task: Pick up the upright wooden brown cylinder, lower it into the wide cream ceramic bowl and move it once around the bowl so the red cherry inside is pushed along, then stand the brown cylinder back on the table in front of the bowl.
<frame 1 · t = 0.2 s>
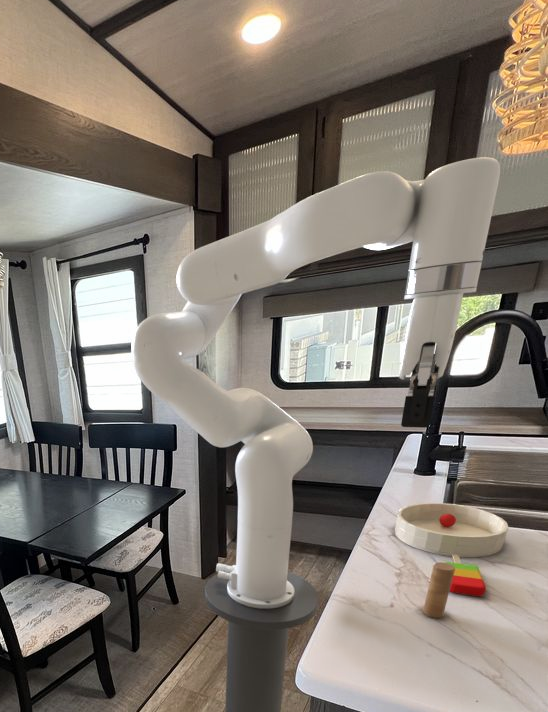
hand: (416, 419, 66), 33 cm above the counter, tool pointing down, fingers open, 9 cm apart
brown cylinder: (432, 613, 78), on the counter
popsicle: (459, 576, 88), on the counter
bowl: (445, 537, 103), on the counter
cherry: (447, 520, 105), point 2 cm above the counter, touching bowl
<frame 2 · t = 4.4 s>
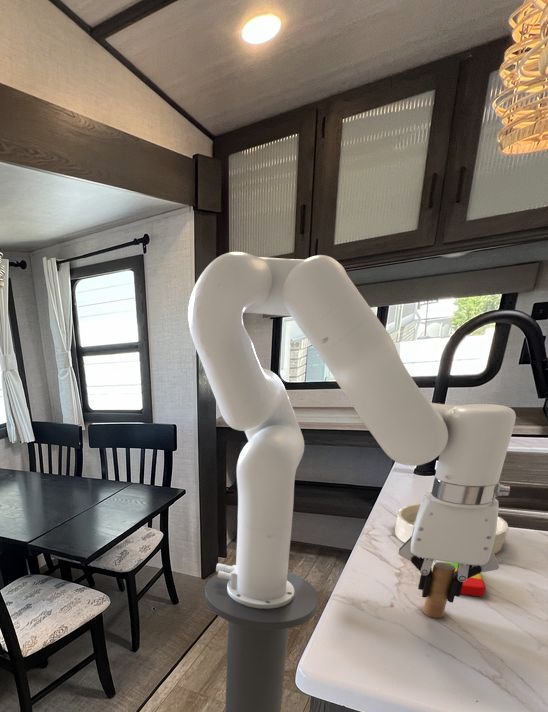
hand: (437, 595, 77), 4 cm above the counter, tool pointing down, fingers closed on brown cylinder, 2 cm apart
brown cylinder: (432, 613, 78), on the counter, touching gripper
everything else where it was.
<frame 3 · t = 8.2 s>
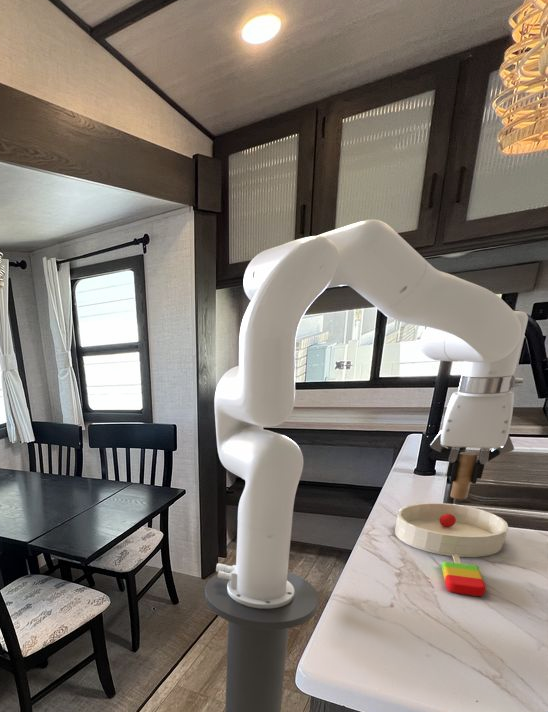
hand: (462, 480, 93), 15 cm above the counter, tool pointing down, fingers closed on brown cylinder, 2 cm apart
brown cylinder: (458, 496, 95), point 11 cm above the counter, touching gripper
everything else where it was.
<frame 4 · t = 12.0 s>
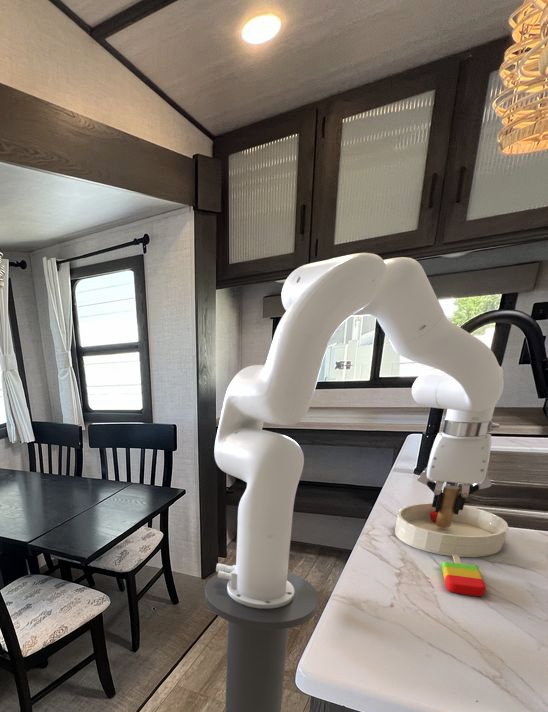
hand: (446, 510, 103), 5 cm above the counter, tool pointing down, fingers closed on brown cylinder, 2 cm apart
brown cylinder: (442, 525, 105), point 1 cm above the counter, touching gripper
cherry: (437, 515, 108), point 2 cm above the counter, tilted 109°, touching bowl
everything else where it was.
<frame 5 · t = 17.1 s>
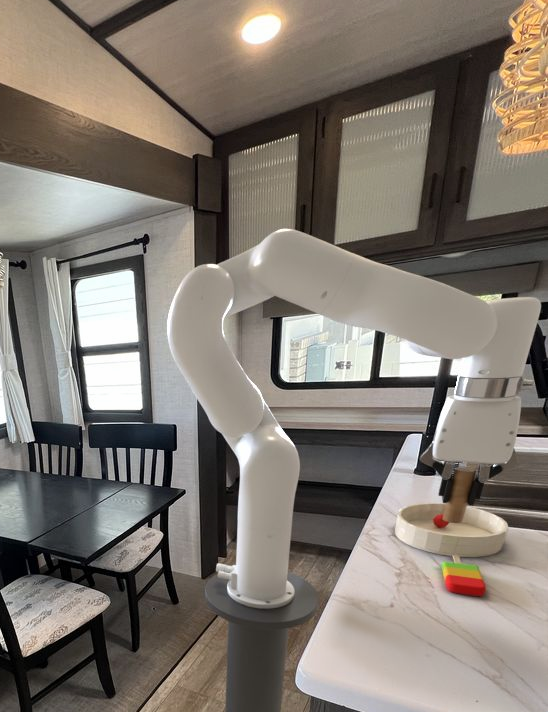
hand: (457, 500, 78), 17 cm above the counter, tool pointing down, fingers closed on brown cylinder, 2 cm apart
brown cylinder: (452, 520, 80), point 13 cm above the counter, touching gripper
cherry: (441, 520, 105), point 2 cm above the counter, tilted 25°, touching bowl
everything else where it was.
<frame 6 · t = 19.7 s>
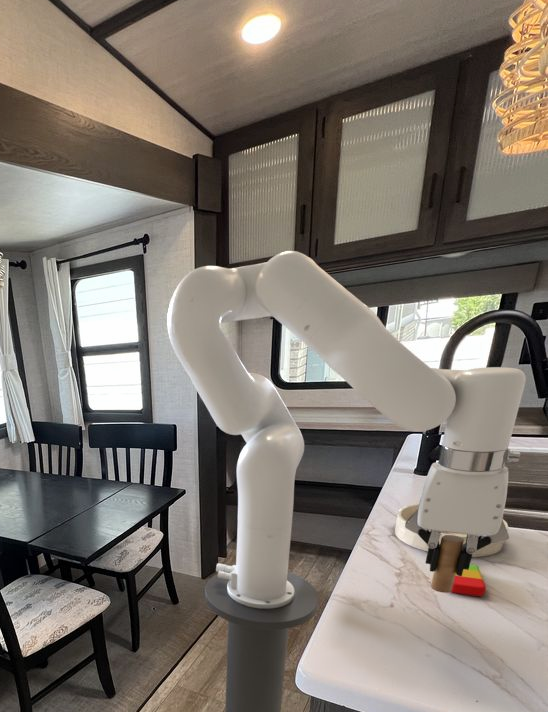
hand: (445, 569, 75), 9 cm above the counter, tool pointing down, fingers closed on brown cylinder, 2 cm apart
brown cylinder: (441, 588, 76), point 5 cm above the counter, touching gripper
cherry: (443, 523, 104), point 2 cm above the counter, tilted 67°, touching bowl
everything else where it was.
when the fingers open (4 cm above the counter, at t = 21.2 s): brown cylinder stays where it is, on the counter.
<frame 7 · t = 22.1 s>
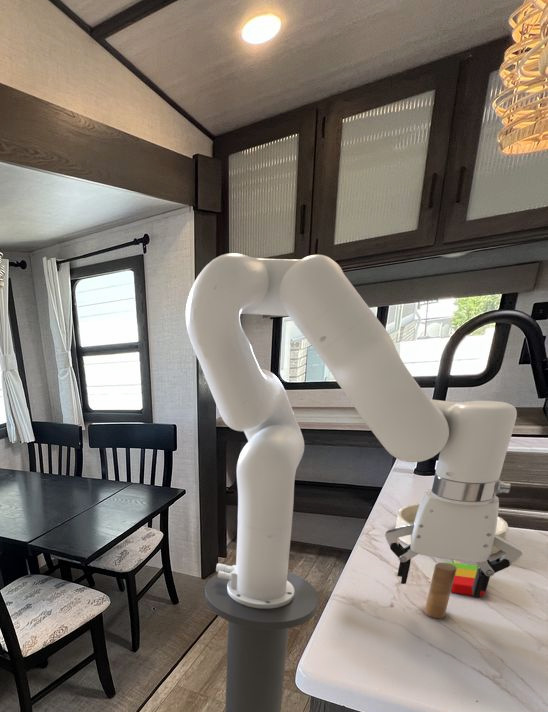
hand: (438, 586, 76), 5 cm above the counter, tool pointing down, fingers open, 9 cm apart
brown cylinder: (434, 613, 78), on the counter
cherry: (444, 526, 103), point 2 cm above the counter, tilted 116°, touching bowl
everything else where it was.
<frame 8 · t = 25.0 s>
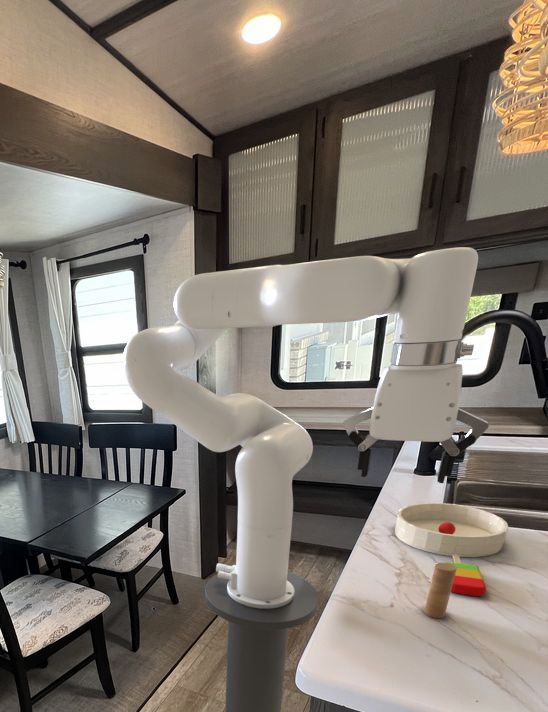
hand: (401, 477, 70), 24 cm above the counter, tool pointing down, fingers open, 9 cm apart
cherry: (446, 529, 102), point 2 cm above the counter, tilted 155°, touching bowl
everything else where it was.
at the end: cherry moved 5.5 cm from its start; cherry inside the target area in the bowl (0.5 cm from its centre), point 2.1 cm above the bowl's base; brown cylinder inside the target area (0.2 cm from its centre), on the counter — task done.
